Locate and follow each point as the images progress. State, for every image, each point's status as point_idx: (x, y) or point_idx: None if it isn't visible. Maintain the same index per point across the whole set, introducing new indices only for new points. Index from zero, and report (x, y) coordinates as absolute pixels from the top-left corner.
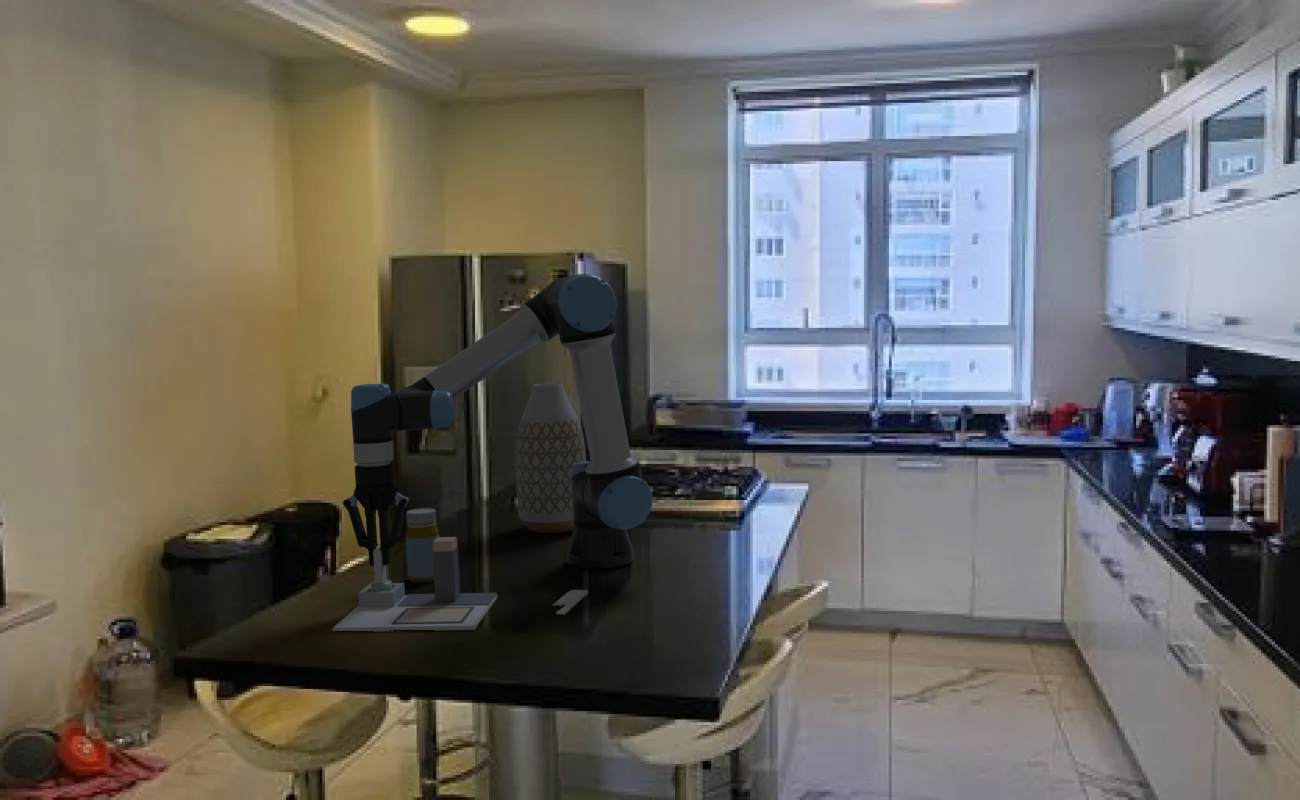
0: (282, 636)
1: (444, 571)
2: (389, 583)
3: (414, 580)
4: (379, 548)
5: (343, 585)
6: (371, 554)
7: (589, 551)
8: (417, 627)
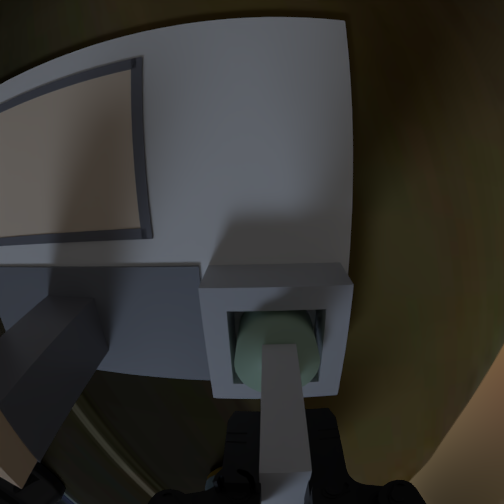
0: (464, 28)
1: (14, 348)
2: (236, 352)
3: None
4: (258, 480)
5: (410, 442)
6: (326, 456)
7: None
8: (65, 56)
